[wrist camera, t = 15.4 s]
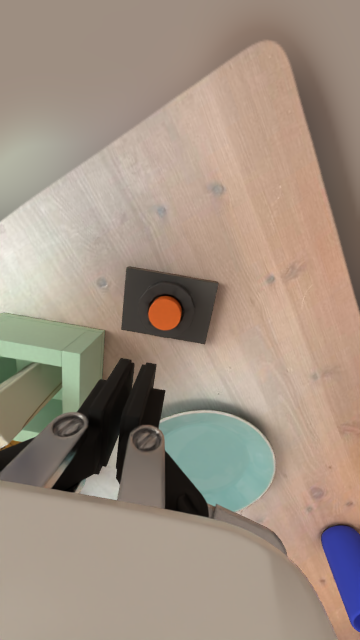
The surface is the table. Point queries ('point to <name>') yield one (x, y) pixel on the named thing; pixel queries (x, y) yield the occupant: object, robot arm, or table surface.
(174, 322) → the button
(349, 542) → the mug
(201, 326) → the block
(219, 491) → the plate
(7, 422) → the cosmetic box
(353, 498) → the table surface
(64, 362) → the mint green storage bin
